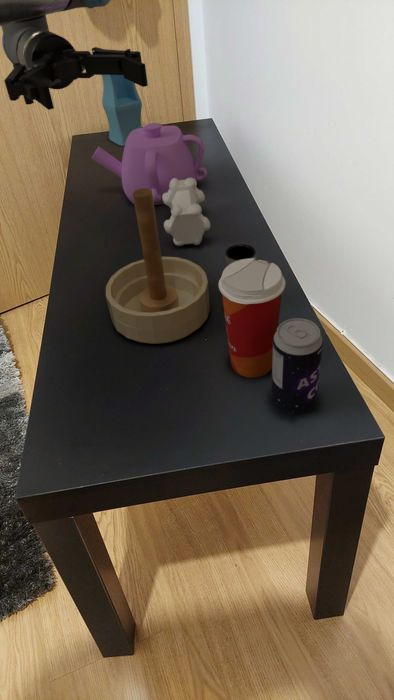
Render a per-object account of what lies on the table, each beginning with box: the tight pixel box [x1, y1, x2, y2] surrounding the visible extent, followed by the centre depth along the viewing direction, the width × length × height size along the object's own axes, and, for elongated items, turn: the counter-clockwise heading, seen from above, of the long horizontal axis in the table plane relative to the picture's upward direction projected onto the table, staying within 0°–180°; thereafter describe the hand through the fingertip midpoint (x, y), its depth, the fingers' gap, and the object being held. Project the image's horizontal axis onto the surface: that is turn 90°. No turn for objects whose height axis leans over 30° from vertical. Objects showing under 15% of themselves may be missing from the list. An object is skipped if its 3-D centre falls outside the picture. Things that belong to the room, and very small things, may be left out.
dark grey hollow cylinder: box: [224, 243, 257, 268], centre depth 78 cm, size 4×4×10 cm
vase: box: [101, 75, 143, 147], centre depth 136 cm, size 8×8×20 cm
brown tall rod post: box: [133, 188, 179, 313], centre depth 75 cm, size 6×6×20 cm
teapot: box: [91, 122, 208, 206], centre depth 111 cm, size 19×21×14 cm
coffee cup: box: [218, 258, 286, 378], centre depth 67 cm, size 8×8×15 cm
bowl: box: [105, 256, 211, 345], centre depth 80 cm, size 16×16×6 cm
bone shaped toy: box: [162, 178, 211, 247], centre depth 99 cm, size 15×9×8 cm, turn 5°
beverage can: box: [271, 317, 324, 415], centre depth 62 cm, size 6×6×12 cm
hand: (97, 86), depth 67 cm, fingers open, 13 cm apart
